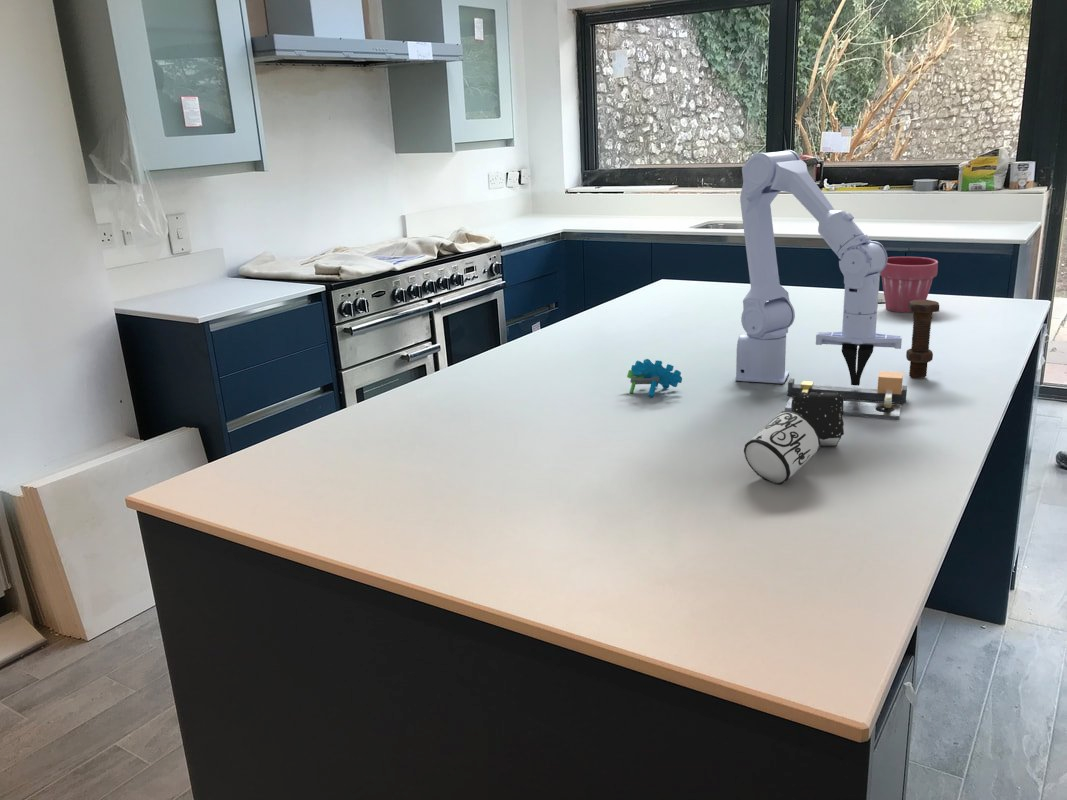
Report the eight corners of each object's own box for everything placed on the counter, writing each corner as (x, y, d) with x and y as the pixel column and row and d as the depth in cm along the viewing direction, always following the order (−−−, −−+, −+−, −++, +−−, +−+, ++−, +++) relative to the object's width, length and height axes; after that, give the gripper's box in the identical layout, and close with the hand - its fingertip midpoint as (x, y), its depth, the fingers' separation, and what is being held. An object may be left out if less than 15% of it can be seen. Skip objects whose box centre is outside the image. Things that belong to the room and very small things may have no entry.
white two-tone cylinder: (803, 498, 122) (806, 431, 119) (736, 485, 128) (737, 420, 125) (857, 442, 141) (861, 382, 138) (797, 432, 147) (799, 375, 144)
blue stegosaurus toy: (691, 381, 172) (670, 355, 165) (684, 408, 170) (662, 382, 163) (641, 382, 178) (619, 357, 171) (634, 408, 176) (611, 383, 169)
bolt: (934, 381, 169) (941, 305, 165) (906, 381, 170) (912, 305, 166) (928, 373, 175) (934, 299, 170) (901, 373, 176) (906, 299, 171)
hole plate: (784, 410, 158) (784, 406, 157) (789, 400, 163) (790, 396, 163) (899, 419, 150) (899, 415, 150) (900, 408, 156) (900, 404, 155)
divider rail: (782, 406, 160) (782, 392, 159) (789, 391, 168) (790, 378, 167) (904, 415, 152) (905, 401, 151) (906, 399, 160) (907, 385, 159)
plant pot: (943, 313, 224) (948, 263, 220) (887, 316, 224) (891, 265, 220) (920, 302, 237) (924, 255, 233) (868, 304, 238) (871, 257, 234)
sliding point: (874, 407, 153) (876, 386, 152) (878, 390, 162) (879, 370, 161) (899, 409, 152) (901, 388, 151) (901, 392, 161) (903, 372, 160)
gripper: (815, 314, 157) (811, 387, 161) (903, 317, 151) (897, 393, 155) (819, 306, 163) (816, 376, 167) (904, 309, 157) (898, 381, 161)
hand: (855, 383), depth 162 cm, fingers closed
